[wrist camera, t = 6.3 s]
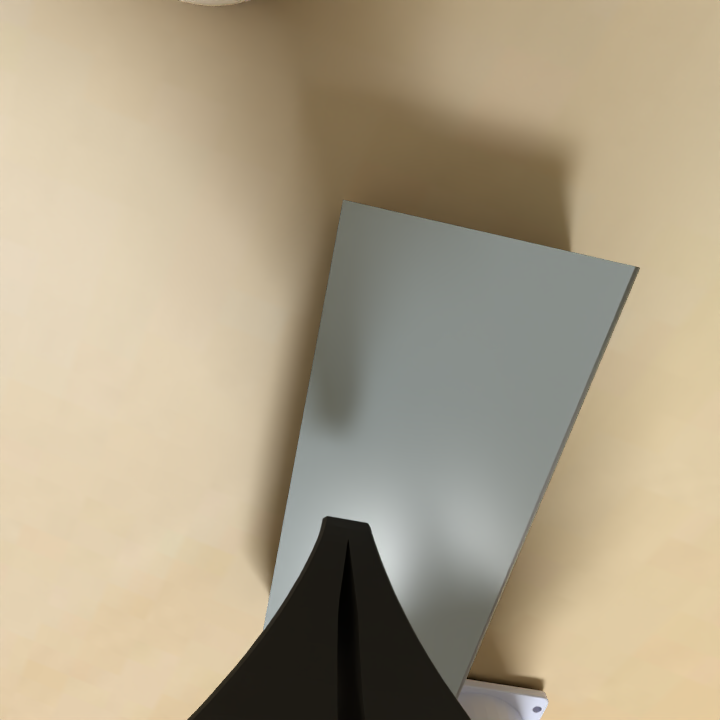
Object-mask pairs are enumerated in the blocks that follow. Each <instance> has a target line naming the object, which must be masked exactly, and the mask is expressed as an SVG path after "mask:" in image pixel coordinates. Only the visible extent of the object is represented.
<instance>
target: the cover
mask: <svg viewBox="0 0 720 720" xmlns="http://www.w3.org/2000/svg"><path fill="white" fill-rule="evenodd" d="M639 269H640V268H639V267H635V266H630V265H626V264H622V263H617V262H613V261H609V260H604V259H600V258H596V257H591V256H587V255H582V254H578V253H574V252H569V251H565V250H561V249H556V248H552V247H548V246H543V245H539V244H534V243H530V242H526V241H521V240H517V239H513V238H508V237H504V236H500V235H495V234H491V233H486V232H482V231H478V230H473V229H469V228H465V227H460V226H456V225H451V224H447V223H443V222H438V221H434V220H430V219H425V218H421V217H417V216H412V215H408V214H403V213H399V212H395V211H390V210H386V209H382V208H377V207H373V206H369V205H364V204H360V203H355V202H351V201H347V200H343V203H342V209H341V214H340V219H339V225H338V230H337V236H336V241H335V246H334V252H333V257H332V263H331V268H330V273H329V279H328V284H327V289H326V295H325V300H324V306H323V311H322V316H321V322H320V327H319V333H318V338H317V343H316V349H315V354H314V359H313V365H312V370H311V376H310V381H309V386H308V392H307V397H306V403H305V408H304V413H303V419H302V424H301V429H300V435H299V440H298V446H297V451H296V456H295V462H294V467H293V473H292V478H291V483H290V489H289V494H288V499H287V505H286V510H285V516H284V521H283V526H282V532H281V537H280V543H279V548H278V553H277V559H276V564H275V569H274V575H273V580H272V586H271V591H270V596H269V602H268V607H267V613H266V618H265V623H264V629H265V628H266V626H267V625H268V624H269V622H270V621H271V619H272V618H273V617H274V615H275V614H276V612H277V611H278V609H279V608H280V606H281V605H282V603H283V602H284V600H285V598H286V597H287V595H288V594H289V592H290V590H291V588H292V587H293V585H294V583H295V582H296V580H297V578H298V577H299V575H300V573H301V571H302V570H303V568H304V566H305V564H306V562H307V560H308V558H309V556H310V554H311V552H312V550H313V547H314V545H315V543H316V540H317V538H318V535H319V532H320V528H321V524H322V519H323V518H324V517H326V516H331V517H337V518H343V519H348V520H354V521H360V522H365V523H368V524H369V525H370V527H371V531H372V534H373V537H374V541H375V544H376V546H377V549H378V552H379V555H380V558H381V560H382V563H383V565H384V568H385V570H386V573H387V575H388V577H389V580H390V582H391V584H392V587H393V589H394V591H395V594H396V596H397V598H398V600H399V602H400V604H401V606H402V608H403V610H404V612H405V614H406V616H407V618H408V620H409V622H410V624H411V626H412V628H413V630H414V632H415V633H416V635H417V637H418V639H419V641H420V642H421V644H422V646H423V648H424V649H425V651H426V653H427V654H428V656H429V658H430V659H431V661H432V663H433V664H434V666H435V667H436V669H437V670H438V672H439V674H440V675H441V677H442V678H443V680H444V681H445V683H446V684H447V686H448V687H449V689H450V690H451V692H452V693H453V694H454V696H455V697H456V699H457V700H458V697H459V695H460V692H461V690H462V688H463V685H464V683H465V681H466V678H467V676H468V674H469V671H470V669H471V666H472V664H473V662H474V659H475V657H476V655H477V652H478V650H479V648H480V645H481V643H482V640H483V638H484V636H485V633H486V631H487V629H488V626H489V624H490V622H491V619H492V617H493V614H494V612H495V610H496V607H497V605H498V603H499V600H500V598H501V596H502V593H503V591H504V588H505V586H506V584H507V581H508V579H509V577H510V574H511V572H512V570H513V567H514V565H515V562H516V560H517V558H518V555H519V553H520V551H521V548H522V546H523V544H524V541H525V539H526V536H527V534H528V532H529V529H530V527H531V525H532V522H533V520H534V518H535V515H536V513H537V510H538V508H539V506H540V503H541V501H542V499H543V496H544V494H545V492H546V489H547V487H548V484H549V482H550V480H551V477H552V475H553V473H554V470H555V468H556V466H557V463H558V461H559V458H560V456H561V454H562V451H563V449H564V447H565V444H566V442H567V440H568V437H569V435H570V432H571V430H572V428H573V425H574V423H575V421H576V418H577V416H578V414H579V411H580V409H581V406H582V404H583V402H584V399H585V397H586V395H587V392H588V390H589V388H590V385H591V383H592V380H593V378H594V376H595V373H596V371H597V369H598V366H599V364H600V362H601V359H602V357H603V354H604V352H605V350H606V347H607V345H608V343H609V340H610V338H611V336H612V333H613V331H614V328H615V326H616V324H617V321H618V319H619V317H620V314H621V312H622V310H623V307H624V305H625V302H626V300H627V298H628V295H629V293H630V291H631V288H632V286H633V284H634V281H635V279H636V276H637V274H638V272H639ZM264 629H263V631H264Z"/></svg>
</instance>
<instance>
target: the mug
mask: <svg viewBox="0 0 720 720" xmlns="http://www.w3.org/2000/svg"><path fill="white" fill-rule="evenodd" d="M178 1H182V2H186V3H191V4H197V5H205V6H224V5H233V4H238V3H242V2H246V1H249V0H178Z"/></svg>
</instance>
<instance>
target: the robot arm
mask: <svg viewBox="0 0 720 720" xmlns="http://www.w3.org/2000/svg"><path fill="white" fill-rule="evenodd" d="M547 705H548V699H547V696H546V694H545V693H544V692H543V691H540V690H534V689H527V688H521V687H515V686H508V685H502V684H495V683H489V682H482V681H476V680H470V679H466V681H465V683H464V685H463V688H462V690H461V692H460V695H459V697H458V700H457V699H456V697H455V696H454V694H453V693H452V692H451V690H450V689H449V687H448V686H447V684H446V683H445V681H444V680H443V678H442V677H441V675H440V674H439V672H438V670H437V669H436V667H435V666H434V664H433V663H432V661H431V659H430V658H429V656H428V654H427V653H426V651H425V649H424V648H423V646H422V644H421V642H420V641H419V639H418V637H417V635H416V633H415V632H414V630H413V628H412V626H411V624H410V622H409V620H408V618H407V616H406V614H405V612H404V610H403V608H402V606H401V604H400V602H399V600H398V598H397V596H396V594H395V591H394V589H393V587H392V584H391V582H390V580H389V577H388V575H387V573H386V570H385V568H384V565H383V563H382V560H381V558H380V555H379V552H378V549H377V546H376V544H375V541H374V537H373V534H372V531H371V527H370V525H369V524H368V523H365V522H360V521H354V520H348V519H343V518H337V517H331V516H326V517H324V518H323V519H322V524H321V528H320V532H319V535H318V538H317V540H316V543H315V545H314V547H313V550H312V552H311V554H310V556H309V558H308V560H307V562H306V564H305V566H304V568H303V570H302V571H301V573H300V575H299V577H298V578H297V580H296V582H295V583H294V585H293V587H292V588H291V590H290V592H289V594H288V595H287V597H286V598H285V600H284V602H283V603H282V605H281V606H280V608H279V609H278V611H277V612H276V614H275V615H274V617H273V618H272V619H271V621H270V622H269V624H268V625H267V626H266V628H265V629H264V631H263V632H262V633H261V635H260V636H259V637H258V639H257V640H256V641H255V642H254V644H253V645H252V646H251V648H250V649H249V650H248V652H247V653H246V654H245V655H244V657H243V658H242V659H241V660H240V662H239V663H238V664H237V665H236V666H235V668H234V669H233V670H232V671H231V672H230V673H229V674H228V676H227V677H226V678H225V679H224V680H223V681H222V682H221V684H220V685H219V686H218V687H217V688H216V689H215V690H214V692H213V693H212V694H211V695H210V696H209V697H208V698H207V700H206V701H205V702H204V703H203V704H202V705H201V706H200V707H199V708H198V709H197V710H196V711H195V712H194V713H193V714H192V715H191V716H190V717H189V718H188V719H187V720H540V718H541V716H542V714H543V712H544V711H545V709H546V707H547Z"/></svg>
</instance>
